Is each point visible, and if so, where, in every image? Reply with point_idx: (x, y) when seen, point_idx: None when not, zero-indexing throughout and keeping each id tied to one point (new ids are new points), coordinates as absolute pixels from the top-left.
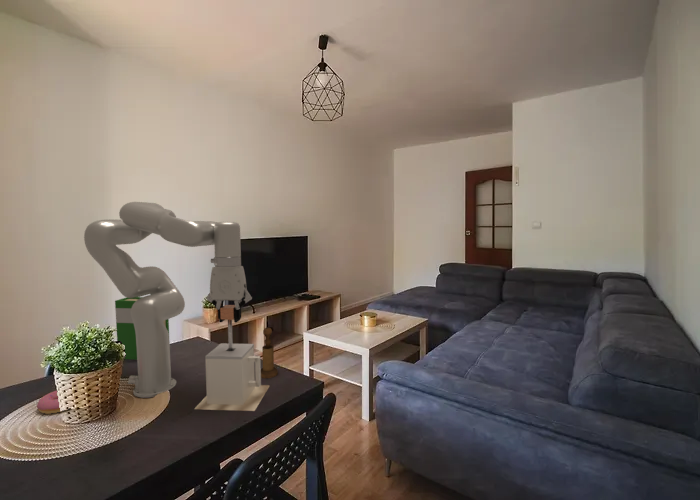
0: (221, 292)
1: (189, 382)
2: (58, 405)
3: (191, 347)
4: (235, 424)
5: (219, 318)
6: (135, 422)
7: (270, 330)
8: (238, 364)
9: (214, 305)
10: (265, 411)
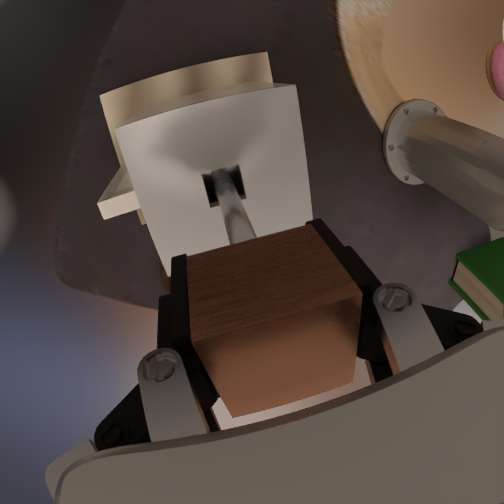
0: (454, 499)
1: (366, 186)
2: (499, 47)
3: None
4: (122, 39)
5: (329, 233)
6: (365, 4)
7: None
8: (136, 118)
9: (438, 310)
10: (84, 116)
